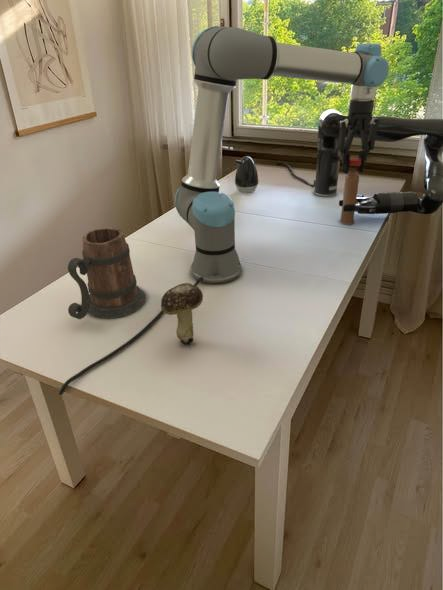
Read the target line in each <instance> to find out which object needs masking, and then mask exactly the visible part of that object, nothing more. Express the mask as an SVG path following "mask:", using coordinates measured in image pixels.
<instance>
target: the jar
mask: <svg viewBox="0 0 443 590" xmlns="http://www.w3.org/2000/svg"><path fill="white" fill-rule="evenodd" d="M359 181H360V176H359V171H358V170H354V169H353V170H351V169H350V170H348V173H347V174H346V175H345V178H344V185H343V186H344V188H343V196H342V200H343V204H342V206H341V214H340V223H341V224H344V225H352V224H354V220H355V213H356V212H354V211H343V206H344V205H353V204H354V206H355V204H356V198H357V195H358V189H359Z"/></svg>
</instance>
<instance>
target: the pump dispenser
mask: <svg viewBox="0 0 443 590" xmlns="http://www.w3.org/2000/svg"><path fill="white" fill-rule="evenodd" d="M234 162H235V163H236V164H237V168H236V170H235V177H234V185H235V187H236V190H237V191H239V192H240V193H242V194H251V193H253V192H255V191H256V190H257V188H258V185H259V175H258V169H257V167H256V164H255V162H254V160H253V158H252V157H251V156H249V155H246V156H245V155H244V156H243V157H242V158H241V159H240V160H238V159H235V160H234Z"/></svg>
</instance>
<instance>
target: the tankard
mask: <svg viewBox="0 0 443 590" xmlns="http://www.w3.org/2000/svg"><path fill="white" fill-rule="evenodd" d="M82 236H83V237H82V251H81V254H82V255H81V256H82V258H80V257H73V258H71V259H70V260H69V262H68V264H67V271H68V274H69V275H70V277H71V279H73V280H74V281H75V282H76V284H77V285H78V288H79V290H80V295H81V303H80V304H79V303H77V302H73V303H70V305H69V306H68V308H67V309H68V310H67V313H68V314H69V316H70V317H72V318H74V319H77V320H82V319H84V318H85V317H86V316H87V315H88V314H89V315H91V316H92V317H95V318H99V319H117V318H122V317H125V316H128V315H131V314H133V313H135V312H136V311H138V310H140V309H141V308H142V307H143V306H144V305H145V303H146V300H147V295H146V292H145V291H144V290H143V289H142V288H141V287H139V286H138V284H137V277H136V275H135V274H134V273H135V272H134V267H133V264H132V259H131V254H130V253H131V251H130V246H129V243H127V241H126V238H125V235H124V232H123V231H122V230H121V229H119V228H115V227H105V228H104V227H103V228H95V229H90V230H89V231H87V232H85V234H84V235H82ZM77 268H78V270H79V274H78V272H77ZM80 275H82V276H86V277H87V284H86V282H85V280H84V279H82V277H80Z"/></svg>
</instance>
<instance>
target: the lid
mask: <svg viewBox="0 0 443 590" xmlns="http://www.w3.org/2000/svg"><path fill="white" fill-rule="evenodd" d="M361 161H362V159H361V158H359V156H350V161H349V167H358V166H360V165H361Z"/></svg>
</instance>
